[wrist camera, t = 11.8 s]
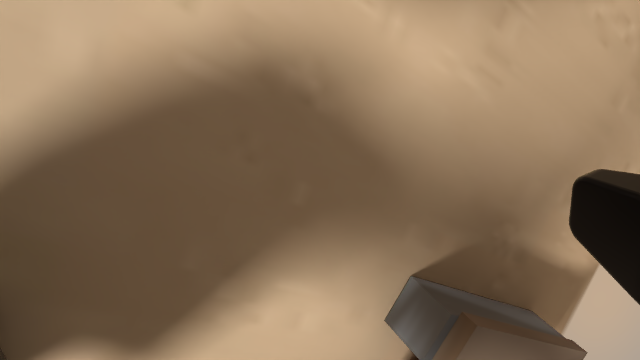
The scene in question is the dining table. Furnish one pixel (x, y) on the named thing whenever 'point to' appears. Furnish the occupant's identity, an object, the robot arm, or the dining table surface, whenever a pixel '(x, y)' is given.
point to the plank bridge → (472, 327)
